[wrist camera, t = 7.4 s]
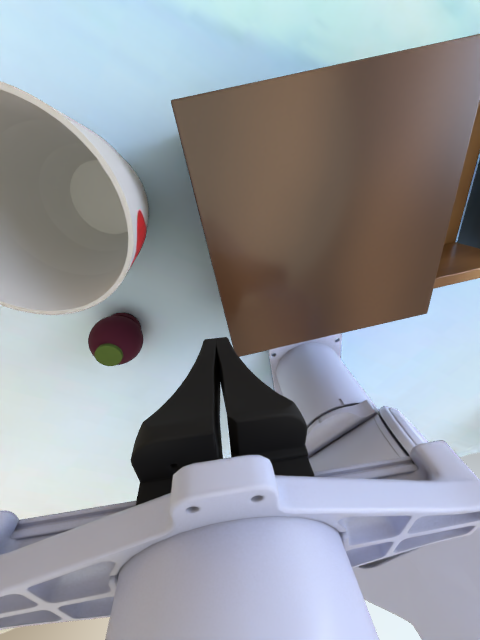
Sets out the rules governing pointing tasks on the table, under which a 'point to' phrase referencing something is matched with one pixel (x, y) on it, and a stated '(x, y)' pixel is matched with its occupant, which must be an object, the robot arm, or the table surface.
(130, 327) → the mangosteen
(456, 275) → the drawer
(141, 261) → the table surface
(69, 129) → the cup
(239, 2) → the table surface
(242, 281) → the cabinet
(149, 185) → the table surface
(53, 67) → the table surface
